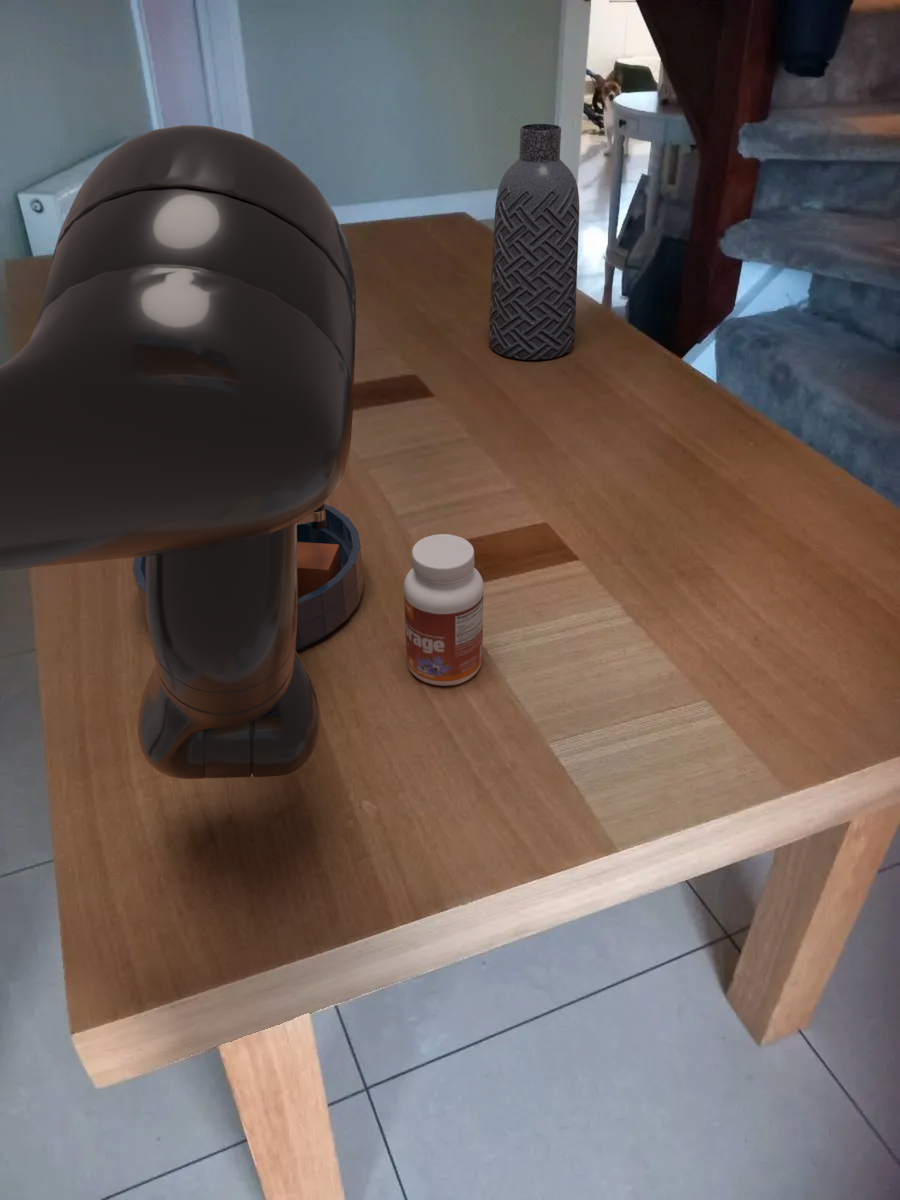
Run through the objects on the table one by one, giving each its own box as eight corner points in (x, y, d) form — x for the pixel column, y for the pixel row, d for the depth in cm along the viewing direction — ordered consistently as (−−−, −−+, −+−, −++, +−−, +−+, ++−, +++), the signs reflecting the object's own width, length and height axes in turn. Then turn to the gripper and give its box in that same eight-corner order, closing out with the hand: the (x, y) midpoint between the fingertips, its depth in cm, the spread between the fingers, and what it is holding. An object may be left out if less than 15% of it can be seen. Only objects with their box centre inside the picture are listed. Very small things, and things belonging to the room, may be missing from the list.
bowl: (110, 658, 76) (95, 609, 73) (187, 533, 92) (178, 489, 89) (340, 671, 74) (335, 622, 71) (379, 542, 90) (376, 498, 87)
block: (288, 604, 81) (282, 566, 79) (300, 578, 84) (295, 541, 82) (332, 607, 80) (328, 569, 78) (342, 581, 84) (339, 544, 81)
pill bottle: (391, 662, 75) (383, 549, 69) (446, 630, 79) (444, 519, 72) (442, 700, 72) (439, 583, 65) (498, 664, 75) (501, 550, 68)
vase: (487, 361, 127) (490, 136, 110) (489, 330, 137) (493, 118, 120) (575, 363, 126) (592, 136, 110) (571, 331, 136) (586, 118, 119)
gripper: (331, 516, 67) (320, 419, 81) (128, 534, 65) (152, 432, 79) (339, 600, 71) (328, 495, 85) (149, 618, 70) (169, 508, 83)
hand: (243, 465), depth 82 cm, fingers closed on candle, 5 cm apart
